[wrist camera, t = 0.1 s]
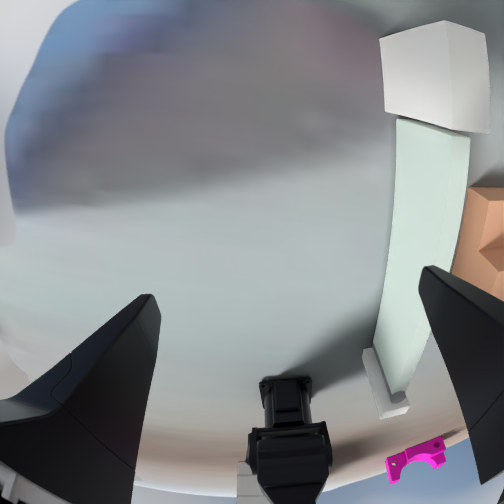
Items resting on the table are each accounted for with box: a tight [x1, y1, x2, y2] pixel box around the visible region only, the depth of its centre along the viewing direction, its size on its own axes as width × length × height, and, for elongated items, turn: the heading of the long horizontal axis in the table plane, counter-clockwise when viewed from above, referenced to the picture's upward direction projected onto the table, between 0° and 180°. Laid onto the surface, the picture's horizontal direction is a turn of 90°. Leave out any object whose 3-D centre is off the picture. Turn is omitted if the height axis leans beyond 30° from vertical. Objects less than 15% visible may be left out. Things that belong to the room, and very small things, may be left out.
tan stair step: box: [451, 187, 504, 301], centre depth 22 cm, size 10×6×7 cm, turn 7°
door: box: [372, 119, 470, 404], centre depth 22 cm, size 25×3×8 cm, turn 7°
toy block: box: [385, 436, 446, 484], centre depth 52 cm, size 15×6×8 cm, turn 104°
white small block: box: [362, 20, 490, 419], centre depth 21 cm, size 33×3×9 cm, turn 7°
